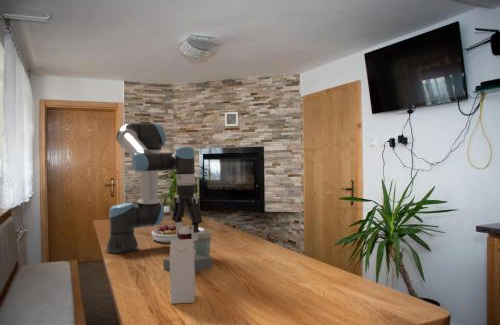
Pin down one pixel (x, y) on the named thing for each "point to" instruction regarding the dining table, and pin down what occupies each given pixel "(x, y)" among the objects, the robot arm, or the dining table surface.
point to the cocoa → (185, 233)
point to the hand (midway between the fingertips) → (187, 239)
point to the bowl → (167, 233)
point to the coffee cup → (203, 243)
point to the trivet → (200, 263)
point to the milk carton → (182, 271)
